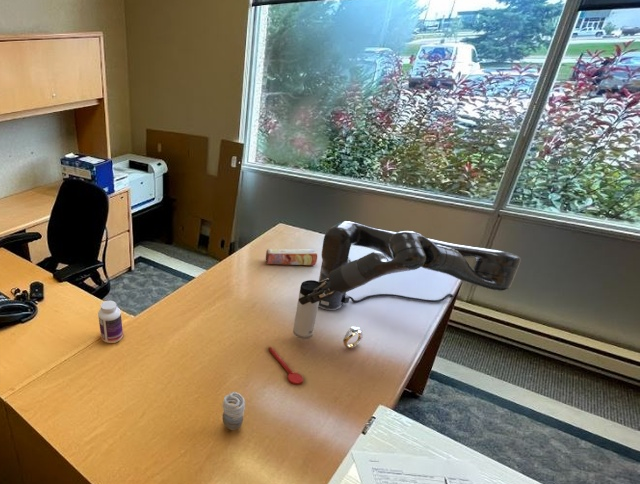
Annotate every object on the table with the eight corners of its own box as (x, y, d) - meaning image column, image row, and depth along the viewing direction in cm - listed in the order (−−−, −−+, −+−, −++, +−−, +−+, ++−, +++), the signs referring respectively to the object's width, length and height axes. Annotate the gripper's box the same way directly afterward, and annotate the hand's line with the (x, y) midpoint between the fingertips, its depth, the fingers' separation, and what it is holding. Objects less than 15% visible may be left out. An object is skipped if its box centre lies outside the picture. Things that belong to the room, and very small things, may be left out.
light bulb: (218, 421, 115) (220, 390, 110) (238, 418, 116) (241, 387, 110) (224, 438, 111) (227, 406, 105) (245, 435, 111) (248, 404, 105)
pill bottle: (126, 333, 152) (124, 300, 145) (117, 346, 146) (113, 313, 139) (107, 328, 155) (103, 296, 148) (97, 341, 149) (92, 308, 142)
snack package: (266, 266, 188) (267, 252, 185) (264, 259, 194) (266, 246, 190) (316, 267, 184) (318, 254, 181) (313, 260, 190) (315, 247, 186)
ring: (356, 342, 140) (361, 323, 136) (363, 348, 137) (368, 329, 133) (338, 346, 139) (343, 327, 135) (345, 352, 136) (349, 333, 132)
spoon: (263, 350, 139) (263, 347, 139) (275, 347, 140) (275, 345, 140) (292, 386, 125) (293, 383, 124) (305, 382, 126) (306, 380, 125)
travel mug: (315, 340, 137) (325, 289, 128) (294, 338, 139) (302, 288, 129) (312, 328, 143) (321, 278, 133) (291, 327, 144) (299, 278, 134)
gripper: (351, 297, 117) (303, 317, 130) (365, 276, 126) (318, 296, 139) (335, 276, 118) (288, 297, 130) (349, 256, 127) (305, 278, 140)
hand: (304, 296), depth 135 cm, fingers closed on travel mug, 6 cm apart
